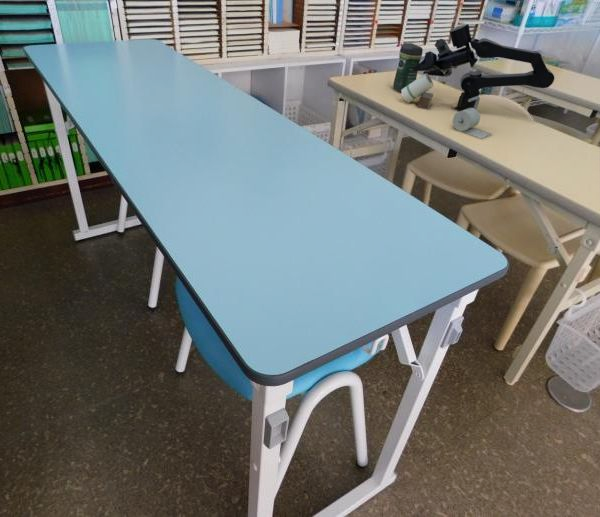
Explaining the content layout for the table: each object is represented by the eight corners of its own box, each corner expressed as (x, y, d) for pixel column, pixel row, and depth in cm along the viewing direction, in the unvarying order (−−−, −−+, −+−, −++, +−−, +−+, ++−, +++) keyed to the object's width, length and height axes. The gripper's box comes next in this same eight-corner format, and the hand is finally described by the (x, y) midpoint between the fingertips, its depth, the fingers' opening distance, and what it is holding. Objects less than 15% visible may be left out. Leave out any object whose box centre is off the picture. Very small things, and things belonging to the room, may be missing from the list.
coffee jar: (416, 93, 192) (427, 46, 181) (400, 93, 190) (410, 46, 179) (405, 86, 200) (414, 41, 189) (389, 87, 197) (398, 41, 186)
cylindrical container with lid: (429, 104, 181) (437, 73, 174) (427, 108, 176) (435, 76, 169) (400, 98, 184) (407, 67, 177) (397, 102, 179) (404, 71, 172)
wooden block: (430, 103, 182) (433, 93, 179) (427, 109, 175) (430, 98, 173) (421, 101, 183) (423, 91, 180) (417, 107, 176) (419, 96, 174)
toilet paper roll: (493, 133, 159) (462, 122, 165) (503, 102, 152) (471, 93, 159) (479, 139, 152) (448, 128, 159) (489, 107, 146) (457, 97, 153)
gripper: (463, 42, 176) (426, 55, 186) (444, 30, 162) (405, 45, 172) (466, 70, 176) (429, 82, 187) (448, 62, 162) (408, 75, 173)
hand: (418, 71), depth 179 cm, fingers open, 9 cm apart
